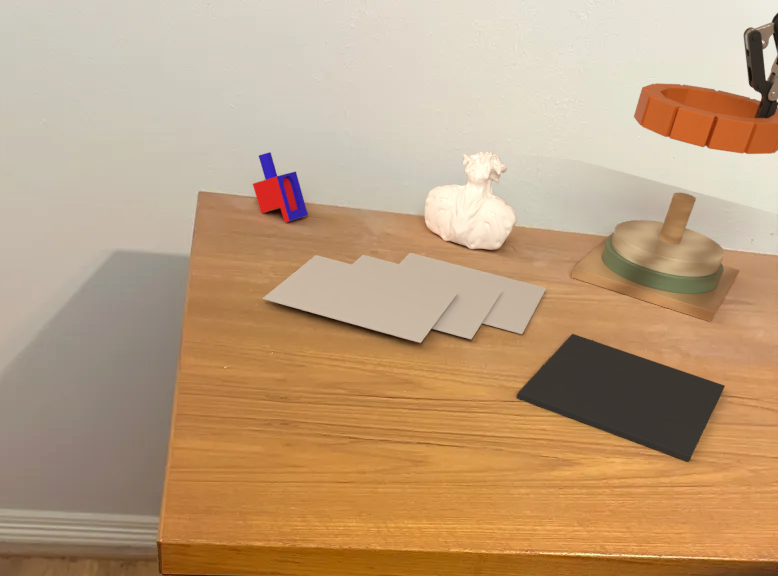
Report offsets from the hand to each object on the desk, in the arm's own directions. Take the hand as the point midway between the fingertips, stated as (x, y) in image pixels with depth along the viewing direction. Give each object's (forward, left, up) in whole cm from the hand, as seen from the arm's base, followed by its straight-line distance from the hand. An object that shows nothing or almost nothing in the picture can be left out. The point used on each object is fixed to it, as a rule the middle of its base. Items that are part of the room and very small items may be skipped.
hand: (771, 137), depth 95 cm
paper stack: (+27, +30, -18) cm, 44 cm away
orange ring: (+7, +2, -1) cm, 7 cm away
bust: (+30, +9, -18) cm, 36 cm away
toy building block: (+51, +20, -18) cm, 57 cm away
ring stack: (+7, +2, -18) cm, 19 cm away
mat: (+2, +35, -18) cm, 40 cm away
